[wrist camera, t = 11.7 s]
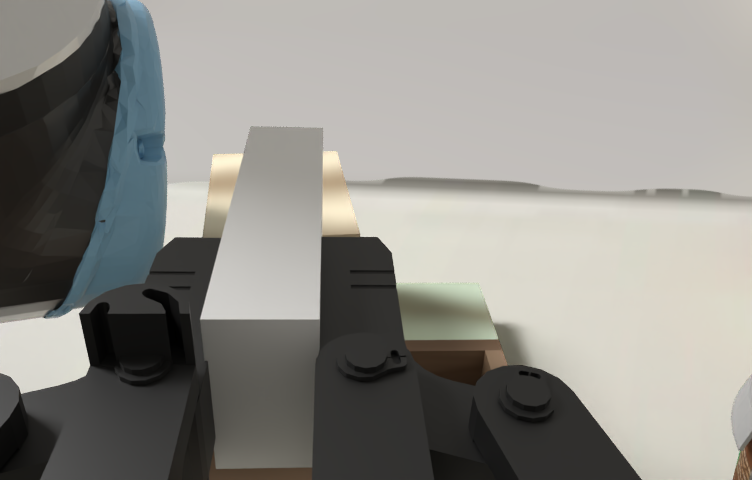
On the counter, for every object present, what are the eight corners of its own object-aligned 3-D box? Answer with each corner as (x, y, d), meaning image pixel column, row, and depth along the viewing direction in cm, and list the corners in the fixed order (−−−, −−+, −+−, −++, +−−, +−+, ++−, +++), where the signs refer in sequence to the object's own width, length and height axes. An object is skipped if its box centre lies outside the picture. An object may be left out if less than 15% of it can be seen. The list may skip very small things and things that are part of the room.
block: (355, 386, 36) (359, 233, 31) (217, 396, 34) (201, 240, 30) (335, 282, 44) (336, 151, 40) (224, 288, 43) (213, 154, 39)
